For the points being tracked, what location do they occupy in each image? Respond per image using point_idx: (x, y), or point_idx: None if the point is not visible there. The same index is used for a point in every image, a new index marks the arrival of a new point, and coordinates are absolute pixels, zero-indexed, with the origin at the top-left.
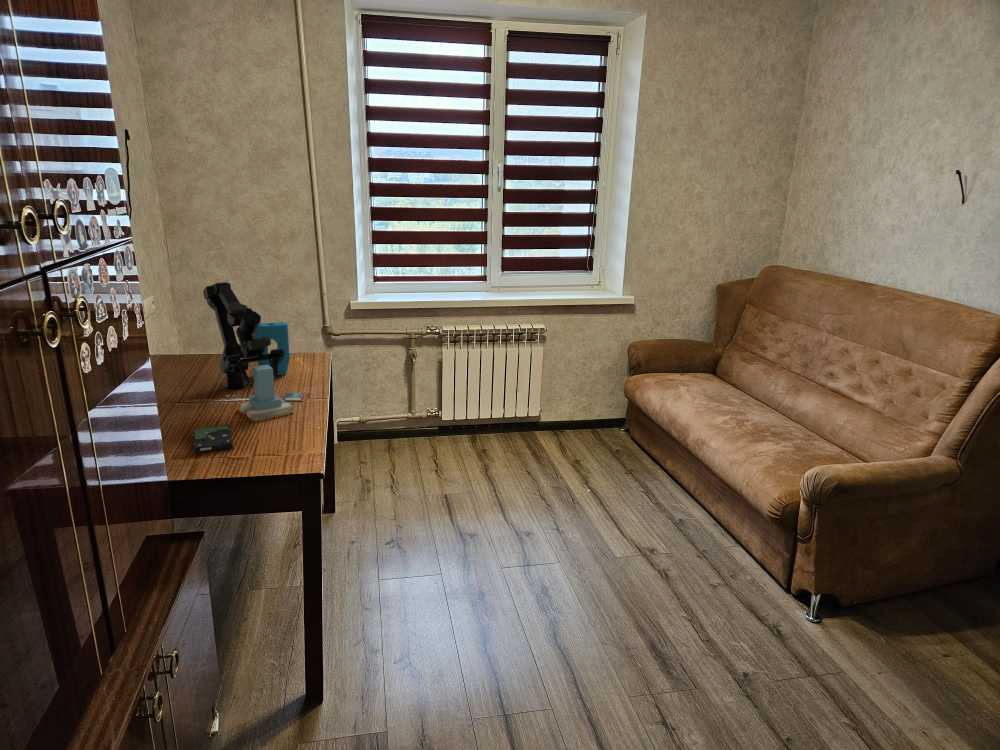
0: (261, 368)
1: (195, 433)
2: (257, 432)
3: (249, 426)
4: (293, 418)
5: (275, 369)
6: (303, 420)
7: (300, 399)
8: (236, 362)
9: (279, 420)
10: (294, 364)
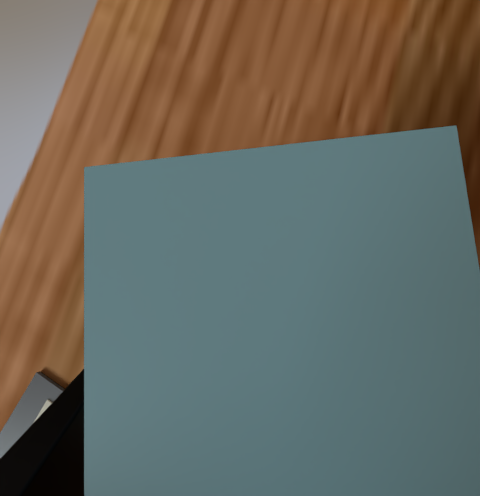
0: (316, 268)
1: None
2: (399, 20)
3: (424, 116)
4: (177, 136)
5: (23, 470)
6: (142, 90)
7: (43, 405)
8: None
9: (251, 138)
10: None
